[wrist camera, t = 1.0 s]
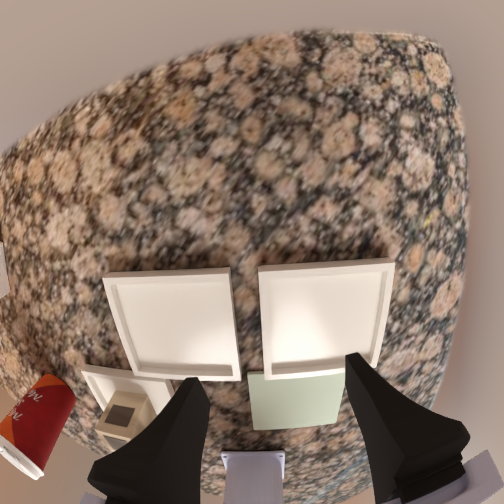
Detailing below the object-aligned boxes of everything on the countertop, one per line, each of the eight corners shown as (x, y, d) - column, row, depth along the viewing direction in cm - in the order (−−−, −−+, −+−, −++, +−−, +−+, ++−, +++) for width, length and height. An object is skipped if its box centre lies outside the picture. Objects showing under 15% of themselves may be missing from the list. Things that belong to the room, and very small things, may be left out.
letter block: (158, 417, 25) (144, 459, 19) (127, 412, 25) (110, 451, 19) (147, 394, 24) (129, 438, 18) (115, 389, 24) (94, 429, 18)
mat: (335, 420, 25) (335, 422, 25) (253, 427, 25) (253, 430, 25) (347, 363, 22) (348, 365, 22) (247, 371, 23) (247, 374, 22)
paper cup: (40, 357, 24) (-19, 428, 11) (87, 395, 25) (40, 478, 12) (36, 383, 26) (-10, 446, 13) (77, 416, 27) (40, 485, 14)
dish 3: (371, 359, 22) (376, 367, 21) (264, 371, 23) (264, 380, 21) (388, 257, 19) (395, 262, 18) (258, 265, 20) (258, 271, 18)
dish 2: (190, 432, 26) (188, 439, 25) (116, 421, 27) (113, 427, 25) (168, 374, 23) (164, 382, 22) (85, 363, 24) (80, 370, 22)
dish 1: (241, 371, 23) (241, 380, 22) (138, 367, 23) (134, 375, 22) (230, 267, 20) (228, 273, 18) (109, 272, 20) (102, 277, 19)
